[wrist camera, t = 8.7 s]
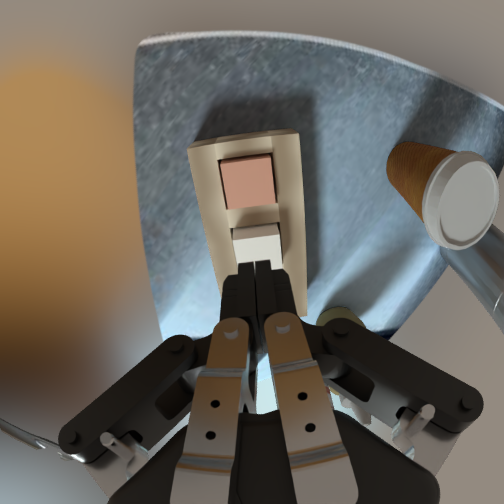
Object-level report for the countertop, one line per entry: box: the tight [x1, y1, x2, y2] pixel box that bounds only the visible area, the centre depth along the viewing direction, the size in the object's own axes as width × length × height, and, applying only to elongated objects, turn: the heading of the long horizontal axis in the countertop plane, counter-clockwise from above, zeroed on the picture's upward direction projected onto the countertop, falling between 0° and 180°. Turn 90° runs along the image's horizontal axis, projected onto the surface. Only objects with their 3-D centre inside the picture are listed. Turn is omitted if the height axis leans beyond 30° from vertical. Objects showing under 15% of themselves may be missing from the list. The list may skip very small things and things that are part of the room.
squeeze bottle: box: [316, 307, 371, 426], centre depth 33 cm, size 8×8×18 cm
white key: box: [232, 222, 282, 270], centre depth 29 cm, size 4×4×3 cm
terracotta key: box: [220, 153, 276, 210], centre depth 26 cm, size 4×4×3 cm
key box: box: [187, 128, 307, 317], centre depth 31 cm, size 10×22×4 cm, turn 7°
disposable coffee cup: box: [386, 142, 499, 250], centre depth 23 cm, size 10×10×12 cm
